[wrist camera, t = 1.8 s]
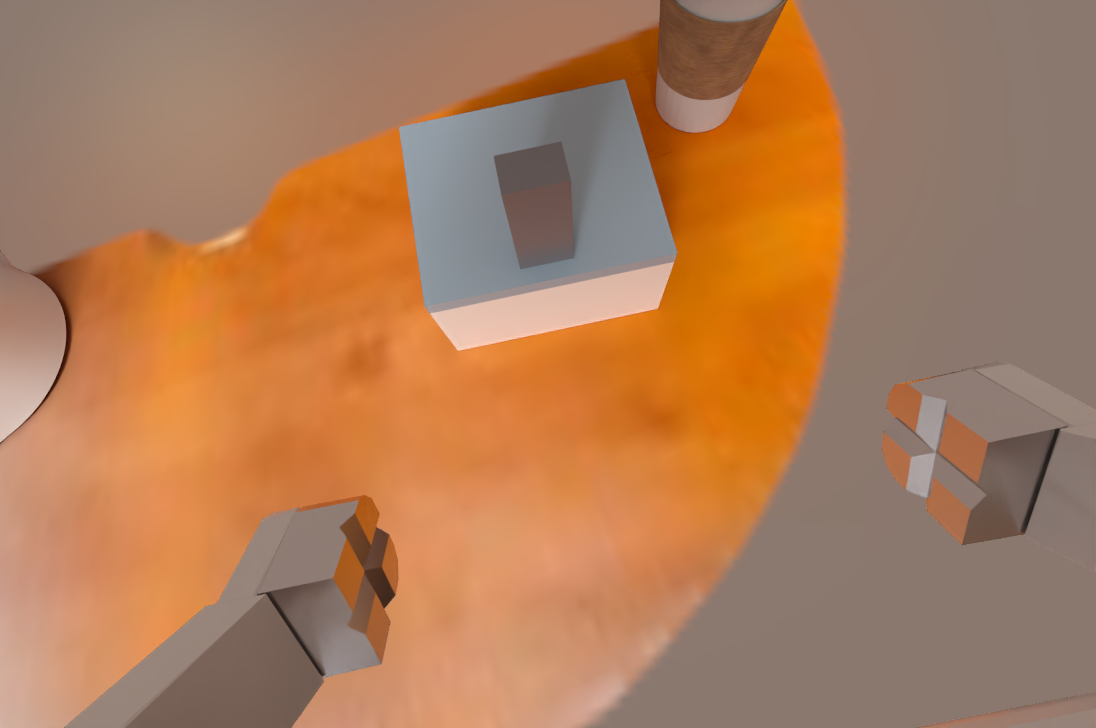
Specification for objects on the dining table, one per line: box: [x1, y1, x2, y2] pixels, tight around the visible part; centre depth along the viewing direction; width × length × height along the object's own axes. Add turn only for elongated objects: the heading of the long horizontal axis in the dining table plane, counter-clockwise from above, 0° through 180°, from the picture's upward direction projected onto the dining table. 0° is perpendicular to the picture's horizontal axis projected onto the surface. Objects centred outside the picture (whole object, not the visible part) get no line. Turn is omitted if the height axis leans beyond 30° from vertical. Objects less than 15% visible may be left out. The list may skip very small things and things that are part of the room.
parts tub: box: [430, 262, 674, 351], centre depth 35 cm, size 14×12×7 cm
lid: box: [399, 79, 677, 313], centre depth 28 cm, size 14×12×9 cm
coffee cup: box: [656, 0, 787, 133], centre depth 34 cm, size 8×8×15 cm
